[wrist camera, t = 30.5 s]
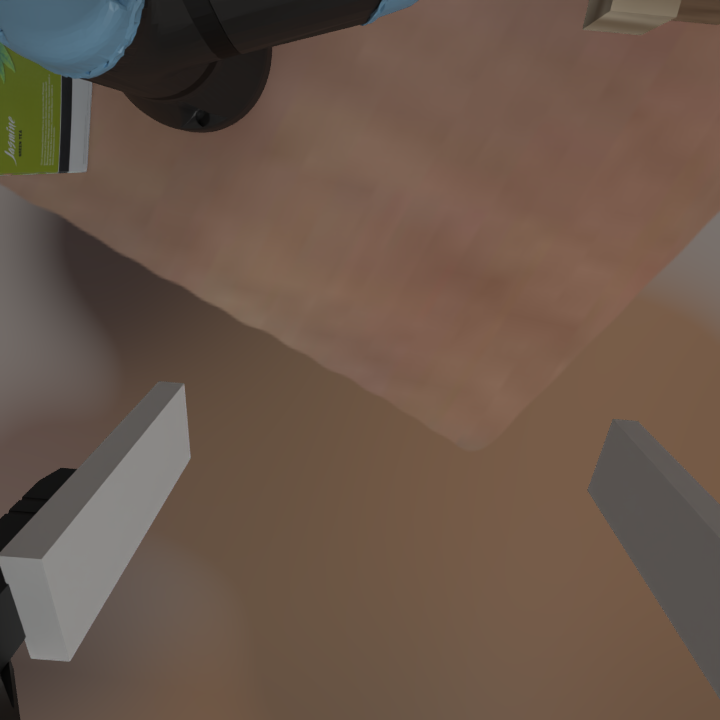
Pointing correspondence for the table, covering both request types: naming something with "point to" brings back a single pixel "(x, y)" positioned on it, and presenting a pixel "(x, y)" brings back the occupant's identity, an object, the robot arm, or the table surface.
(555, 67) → the table surface
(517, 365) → the table surface
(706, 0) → the walnut plinth
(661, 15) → the tan wooden bar
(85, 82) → the tea box
